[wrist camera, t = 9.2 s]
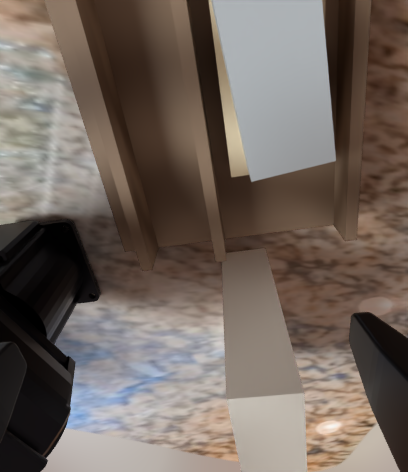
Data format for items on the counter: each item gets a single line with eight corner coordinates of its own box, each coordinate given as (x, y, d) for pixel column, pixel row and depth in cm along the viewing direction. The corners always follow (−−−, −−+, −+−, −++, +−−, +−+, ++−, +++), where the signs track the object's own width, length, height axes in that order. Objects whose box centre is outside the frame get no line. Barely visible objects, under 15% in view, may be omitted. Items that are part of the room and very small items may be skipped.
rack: (335, 213, 21) (360, 244, 17) (130, 240, 22) (114, 274, 19) (346, -214, 13) (398, -321, 9) (17, -129, 14) (-50, -193, 10)
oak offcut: (313, 153, 18) (324, 163, 16) (229, 165, 18) (231, 177, 16) (311, -64, 14) (326, -83, 12) (203, -41, 14) (201, -55, 12)
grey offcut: (322, 149, 16) (336, 160, 14) (247, 168, 16) (251, 182, 14) (303, -31, 12) (318, -47, 11) (211, -1, 13) (210, -10, 11)
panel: (274, 352, 27) (308, 517, 17) (238, 355, 27) (251, 520, 18) (265, 247, 22) (304, 393, 13) (221, 253, 23) (226, 399, 13)
